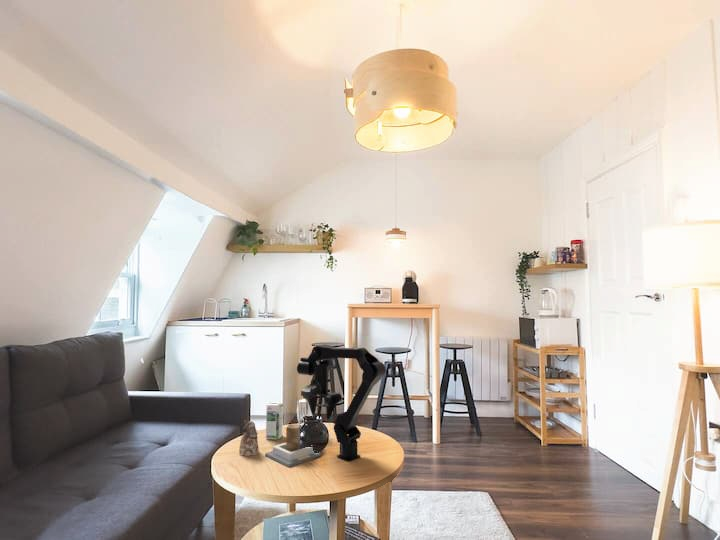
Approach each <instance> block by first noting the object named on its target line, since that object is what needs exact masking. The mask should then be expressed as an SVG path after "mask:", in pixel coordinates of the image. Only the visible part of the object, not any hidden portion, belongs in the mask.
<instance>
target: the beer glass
mask: <svg viewBox="0 0 720 540" xmlns="http://www.w3.org/2000/svg"><path fill="white" fill-rule="evenodd" d="M296 403H297V406H296V417H297V425H300V424H301V423H302V420H303V417H305V416H312V417H313V415H312V413H311V409H310V406H309V403H308V401H307V400H306V399H305V398H300V399H298V400H297V401H296Z"/></svg>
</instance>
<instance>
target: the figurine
mask: <svg viewBox="0 0 720 540" xmlns="http://www.w3.org/2000/svg"><path fill="white" fill-rule="evenodd" d="M243 423H244V426H243V428H242V436H241V439H240V444H239V449H238V451H239V455H240V454H241V455H240V456H242V455H244V456H243V457H249V455H252V456H256V455H257V454H258V453H259V442H258V432H257V427H256V423H255V422H254V421H252V420H249V421H247V420H244V421H243Z"/></svg>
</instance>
